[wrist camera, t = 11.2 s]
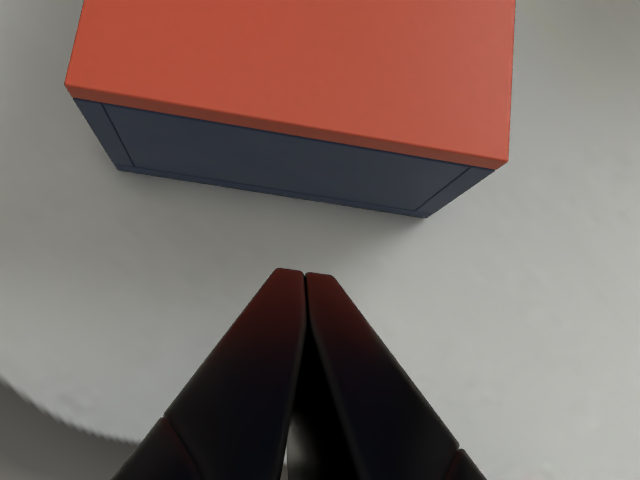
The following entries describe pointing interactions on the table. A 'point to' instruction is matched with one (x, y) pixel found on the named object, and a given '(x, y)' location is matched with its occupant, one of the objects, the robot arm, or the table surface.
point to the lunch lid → (312, 69)
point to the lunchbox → (275, 161)
